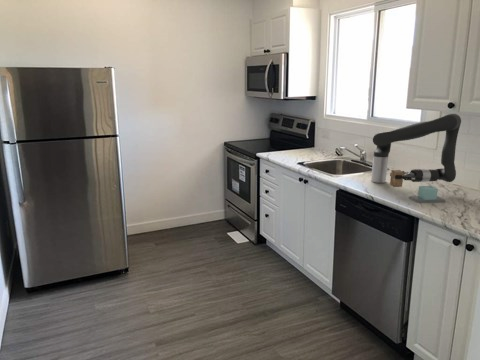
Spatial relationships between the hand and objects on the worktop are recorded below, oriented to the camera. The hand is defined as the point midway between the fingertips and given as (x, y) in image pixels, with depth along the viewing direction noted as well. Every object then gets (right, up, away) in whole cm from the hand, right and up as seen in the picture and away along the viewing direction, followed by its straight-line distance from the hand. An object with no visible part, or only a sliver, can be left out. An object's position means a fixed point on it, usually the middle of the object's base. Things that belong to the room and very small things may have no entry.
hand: (392, 175), depth 228 cm
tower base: (+16, -14, -8) cm, 23 cm away
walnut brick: (+3, -6, +2) cm, 7 cm away
